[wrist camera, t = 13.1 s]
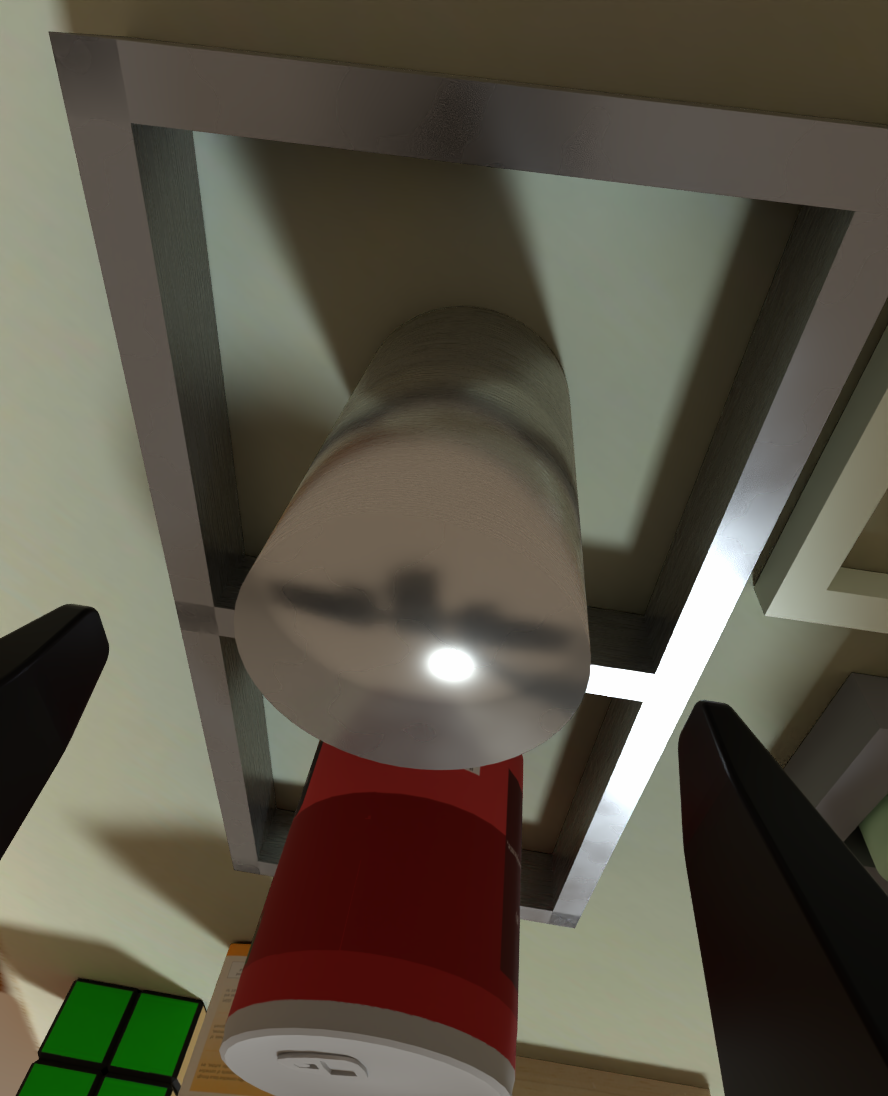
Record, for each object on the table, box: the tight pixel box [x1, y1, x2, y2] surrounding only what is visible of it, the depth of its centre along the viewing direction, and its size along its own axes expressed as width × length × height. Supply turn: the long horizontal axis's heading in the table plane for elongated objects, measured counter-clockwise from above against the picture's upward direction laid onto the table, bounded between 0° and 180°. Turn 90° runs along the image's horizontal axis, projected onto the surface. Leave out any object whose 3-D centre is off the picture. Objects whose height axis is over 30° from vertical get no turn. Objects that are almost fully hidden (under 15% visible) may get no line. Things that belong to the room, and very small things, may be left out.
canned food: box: [219, 740, 523, 1096], centre depth 21 cm, size 8×8×11 cm
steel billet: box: [234, 306, 591, 770], centre depth 13 cm, size 6×6×9 cm
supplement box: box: [178, 943, 274, 1096], centre depth 36 cm, size 8×5×13 cm, turn 103°
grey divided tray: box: [49, 32, 888, 928], centre depth 21 cm, size 30×15×2 cm, turn 175°
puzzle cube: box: [16, 978, 206, 1096], centre depth 47 cm, size 10×10×10 cm
